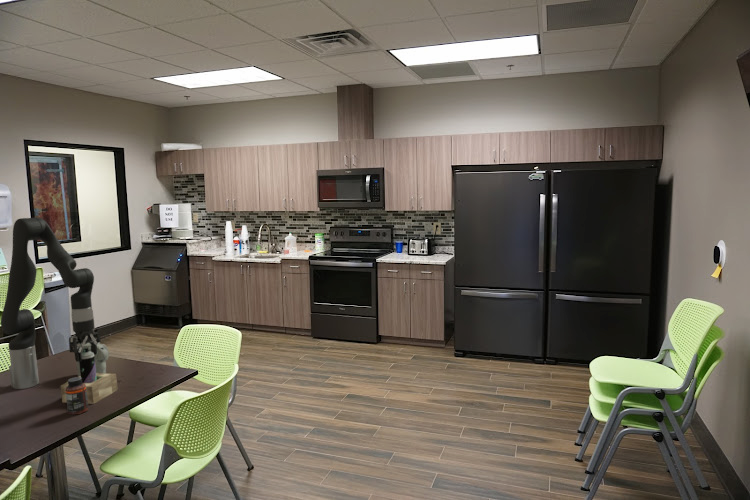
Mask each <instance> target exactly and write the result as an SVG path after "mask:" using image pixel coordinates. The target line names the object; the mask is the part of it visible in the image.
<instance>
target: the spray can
mask: <svg viewBox="0 0 750 500" xmlns="http://www.w3.org/2000/svg"><path fill="white" fill-rule="evenodd" d="M81 355H82V361H80V362H79V364H80V374H81V378H82V383H92V382H94V381H96V380H97V377H96V367H95V357H94V353H93V352H90V351H89V350H88V348H84V351H83V352H82V353H81Z"/></svg>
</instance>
